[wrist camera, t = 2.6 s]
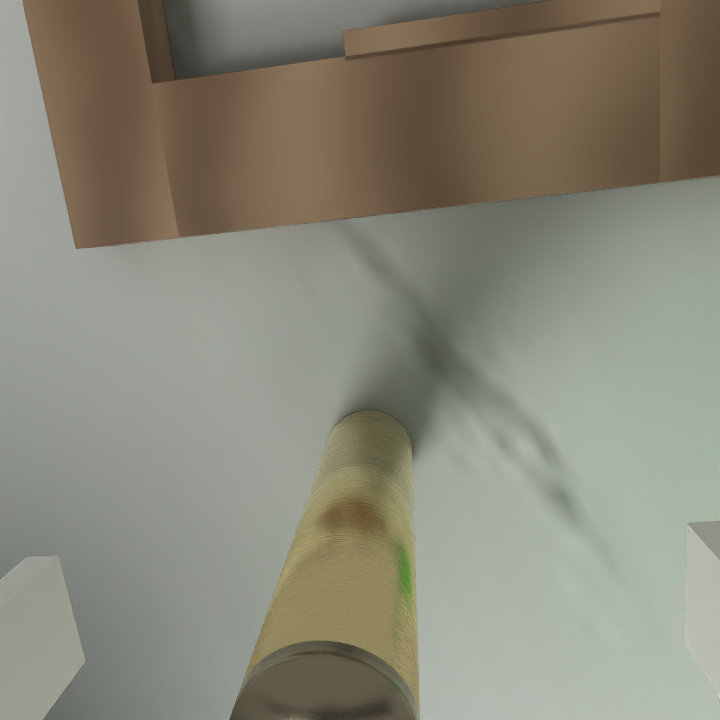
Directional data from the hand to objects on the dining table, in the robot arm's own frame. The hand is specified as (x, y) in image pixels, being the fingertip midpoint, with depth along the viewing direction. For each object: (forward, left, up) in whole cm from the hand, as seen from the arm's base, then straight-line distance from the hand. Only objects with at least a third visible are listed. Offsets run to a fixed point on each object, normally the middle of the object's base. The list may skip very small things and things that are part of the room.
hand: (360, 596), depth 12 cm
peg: (0, 0, -9) cm, 9 cm away
